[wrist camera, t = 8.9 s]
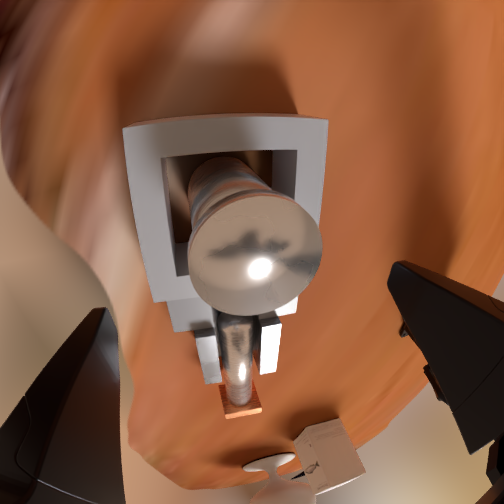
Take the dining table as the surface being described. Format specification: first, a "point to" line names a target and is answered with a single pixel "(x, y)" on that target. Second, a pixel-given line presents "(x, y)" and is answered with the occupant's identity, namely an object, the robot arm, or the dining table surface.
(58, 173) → the dining table surface
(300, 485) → the chalice
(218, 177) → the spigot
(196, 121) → the socket
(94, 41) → the dining table surface
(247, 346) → the lock pin
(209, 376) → the pin mount
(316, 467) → the supplement box
